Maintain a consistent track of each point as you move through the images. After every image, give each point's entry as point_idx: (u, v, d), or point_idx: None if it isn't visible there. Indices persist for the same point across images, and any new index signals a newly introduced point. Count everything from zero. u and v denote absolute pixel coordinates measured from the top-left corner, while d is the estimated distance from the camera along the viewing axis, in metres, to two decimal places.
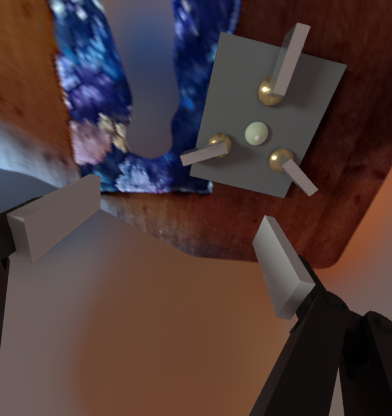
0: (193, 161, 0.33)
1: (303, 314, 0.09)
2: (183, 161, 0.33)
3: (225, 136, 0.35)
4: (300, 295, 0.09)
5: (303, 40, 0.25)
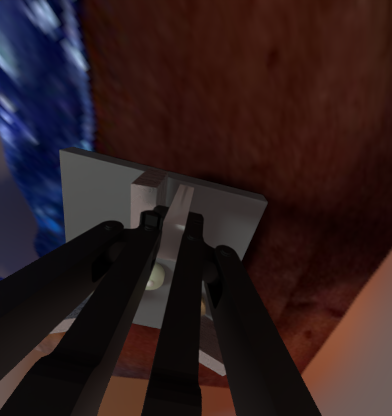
0: None
1: None
2: None
3: None
4: (177, 237, 0.11)
5: (152, 207, 0.14)
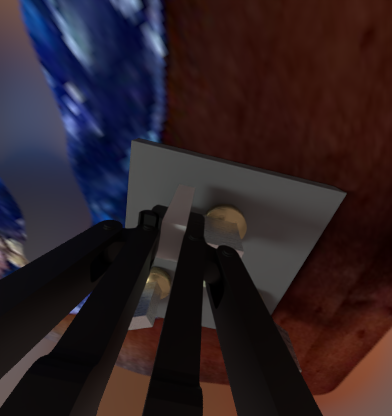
0: None
1: (178, 257, 0.11)
2: None
3: (158, 278, 0.23)
4: (178, 237, 0.11)
5: None
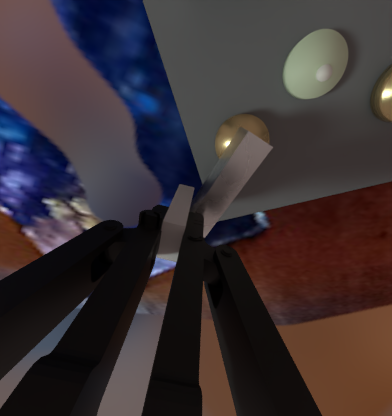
0: (215, 218, 0.14)
1: (177, 257, 0.11)
2: None
3: (239, 118, 0.15)
4: (177, 237, 0.11)
5: None
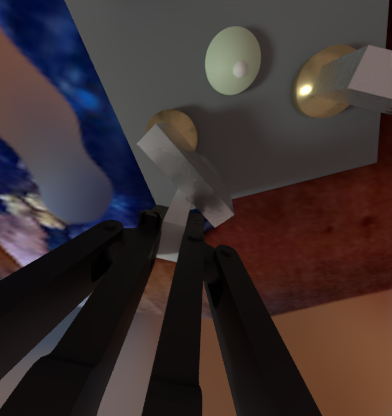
0: (214, 197, 0.13)
1: (177, 257, 0.11)
2: (223, 217, 0.14)
3: None
4: (177, 237, 0.11)
5: None
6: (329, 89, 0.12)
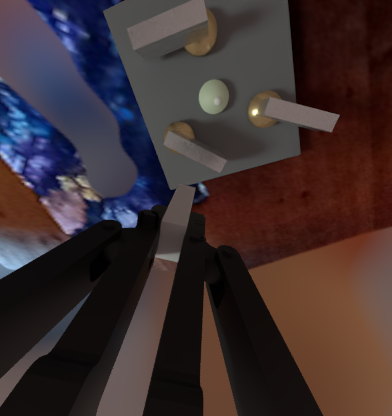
0: (212, 155, 0.24)
1: None
2: (222, 164, 0.24)
3: None
4: (178, 237, 0.11)
5: (140, 25, 0.19)
6: (260, 114, 0.23)
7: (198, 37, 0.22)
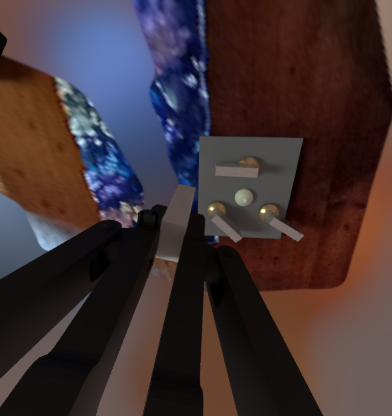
0: (235, 233, 0.42)
1: None
2: (238, 239, 0.42)
3: (208, 211, 0.45)
4: (178, 237, 0.11)
5: (223, 167, 0.36)
6: (266, 219, 0.42)
7: None
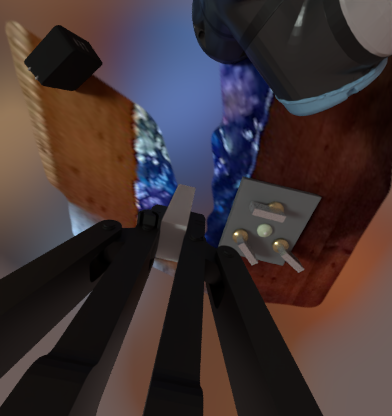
0: (253, 258, 0.52)
1: None
2: (254, 263, 0.53)
3: (234, 235, 0.55)
4: (178, 237, 0.11)
5: (260, 210, 0.46)
6: (279, 251, 0.53)
7: None
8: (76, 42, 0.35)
